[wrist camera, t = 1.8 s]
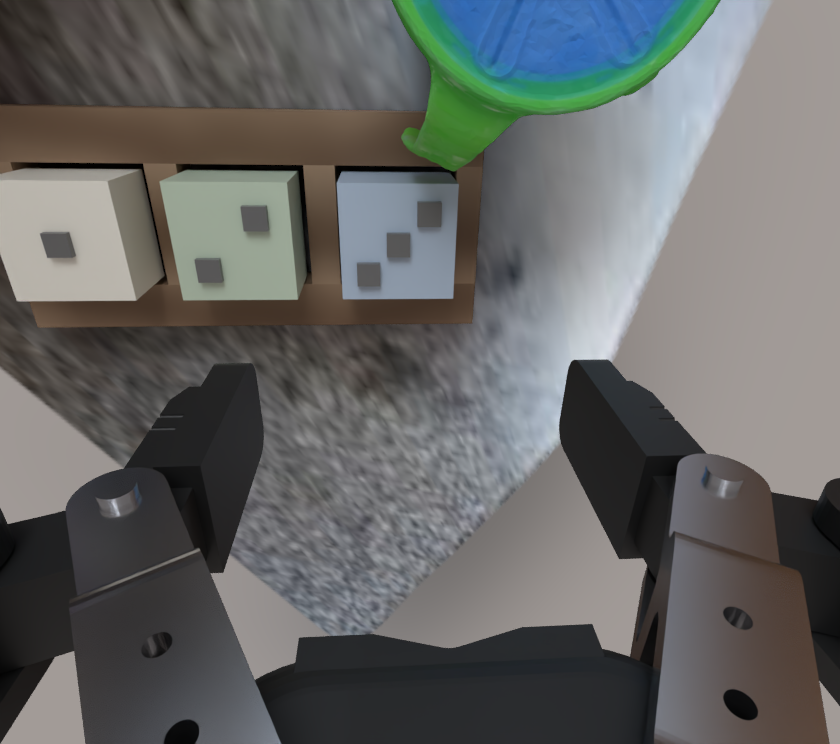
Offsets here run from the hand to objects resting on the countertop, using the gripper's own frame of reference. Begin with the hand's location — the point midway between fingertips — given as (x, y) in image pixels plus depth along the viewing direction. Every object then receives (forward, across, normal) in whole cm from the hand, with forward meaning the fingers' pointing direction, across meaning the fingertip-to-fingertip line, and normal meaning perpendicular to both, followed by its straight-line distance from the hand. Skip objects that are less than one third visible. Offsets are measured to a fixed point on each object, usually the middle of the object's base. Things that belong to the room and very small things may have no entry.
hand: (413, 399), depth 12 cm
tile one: (+16, +14, 0) cm, 22 cm away
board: (+18, +7, 0) cm, 19 cm away
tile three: (+16, 0, 0) cm, 16 cm away
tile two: (+16, +7, 0) cm, 18 cm away
